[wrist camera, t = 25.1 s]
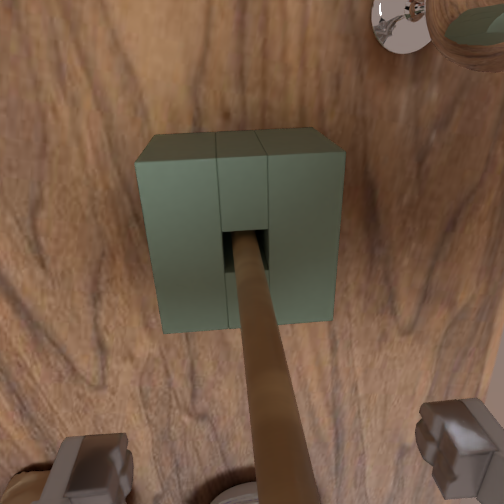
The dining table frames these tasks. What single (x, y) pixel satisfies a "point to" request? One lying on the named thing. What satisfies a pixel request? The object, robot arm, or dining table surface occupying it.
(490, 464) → the robot arm
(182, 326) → the stick stand
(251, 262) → the stirring stick
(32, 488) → the container
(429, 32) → the wineglass
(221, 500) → the paper bowls
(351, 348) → the dining table surface
